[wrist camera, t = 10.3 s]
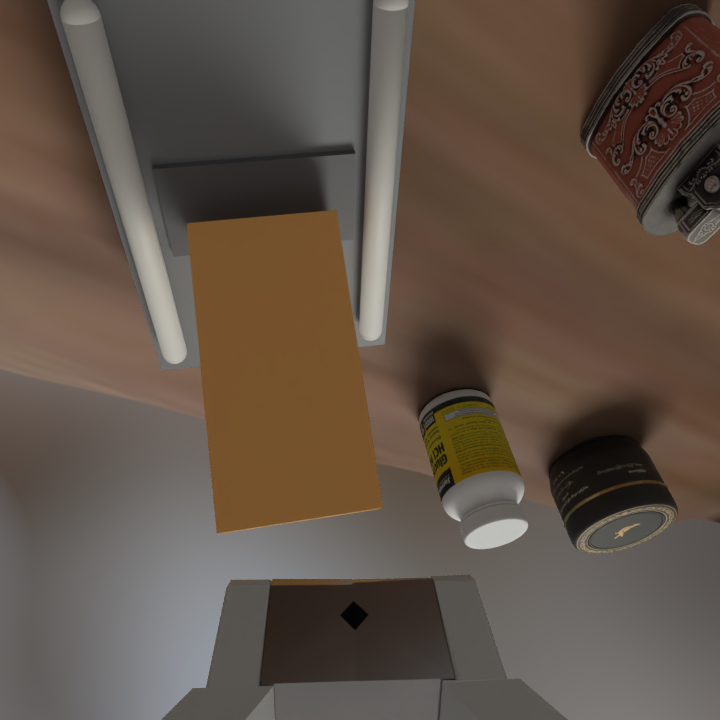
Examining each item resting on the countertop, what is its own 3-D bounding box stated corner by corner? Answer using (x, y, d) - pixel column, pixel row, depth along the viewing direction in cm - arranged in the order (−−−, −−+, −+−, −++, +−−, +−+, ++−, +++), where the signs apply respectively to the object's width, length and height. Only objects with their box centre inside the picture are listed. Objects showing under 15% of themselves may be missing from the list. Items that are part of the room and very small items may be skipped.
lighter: (611, 158, 37) (702, 277, 31) (565, 140, 36) (651, 261, 29) (720, 19, 32) (857, 127, 26) (673, -8, 30) (805, 98, 24)
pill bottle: (413, 396, 51) (452, 526, 44) (490, 378, 51) (542, 504, 44) (420, 438, 56) (455, 561, 49) (490, 421, 56) (536, 542, 49)
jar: (530, 491, 67) (557, 562, 63) (562, 435, 60) (597, 510, 55) (617, 482, 69) (651, 549, 65) (659, 426, 62) (701, 497, 57)
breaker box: (382, -124, 25) (430, -59, 20) (364, 272, 40) (389, 360, 36) (51, -119, 23) (22, -47, 19) (163, 292, 38) (162, 388, 34)
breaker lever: (336, 209, 27) (383, 507, 24) (333, 231, 29) (376, 509, 26) (186, 223, 26) (216, 533, 23) (193, 244, 28) (222, 533, 25)
